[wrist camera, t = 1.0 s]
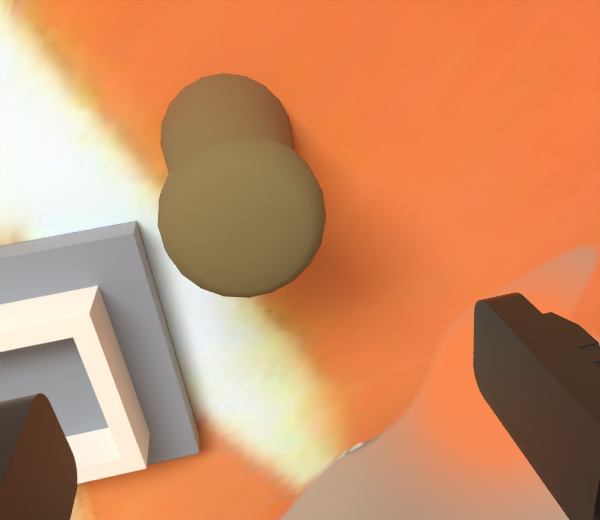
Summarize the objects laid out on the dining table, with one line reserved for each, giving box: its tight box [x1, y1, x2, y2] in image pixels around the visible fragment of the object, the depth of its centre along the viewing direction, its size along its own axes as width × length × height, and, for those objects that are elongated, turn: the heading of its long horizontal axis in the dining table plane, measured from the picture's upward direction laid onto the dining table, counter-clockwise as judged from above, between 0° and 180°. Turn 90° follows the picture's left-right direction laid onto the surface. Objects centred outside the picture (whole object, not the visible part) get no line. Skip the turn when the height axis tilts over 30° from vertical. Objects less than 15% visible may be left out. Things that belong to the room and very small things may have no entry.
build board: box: [0, 221, 199, 484], centre depth 27 cm, size 14×14×4 cm
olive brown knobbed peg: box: [158, 73, 326, 298], centre depth 21 cm, size 6×6×11 cm
